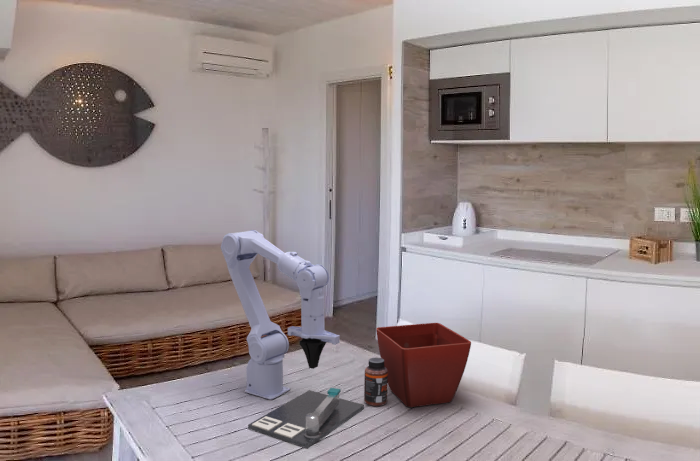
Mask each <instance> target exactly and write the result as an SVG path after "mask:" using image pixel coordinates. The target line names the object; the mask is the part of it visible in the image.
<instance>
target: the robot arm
mask: <svg viewBox="0 0 700 461" xmlns="http://www.w3.org/2000/svg"><path fill="white" fill-rule="evenodd" d="M220 250H221V253H222V256H223V258H224V261H225V263H226V266H227V271H228V274H229V275H230V278H231V281H232V283H233V286H234V288H235V291H236V293H237V296H238V299H239V301H240V304H241V307H242V309H243V311H244V314H245V317H246V319H247V321H248V324H249V326H250V328H251V329H250V331H249V333H248V335H247V336H246V342H247V345H248V353H249V355H250V359H249V360H248V362H247V364H246V370H245V371H246V372H245V373H246V375H245V376H246V379H245V380H246V389H245V390H244V392H245V393H247V394H250V395H253V396H257V397H260V398H265V399H267V400H271V401H272V400H274V399H275V398H278V397H280V396H281V395H283V394H285V393H287V392H288V391H290V390H291V389H290V387H287V386H285V385H284V370H283V368H284V367H283V366H284V365H283V364H284V359H285V354H286V353H287V352H288V350H289V349H290V348H289V347H290V343H289V339H288V337H287V336H290V337H292V336H294V337H300V338H301V340H299V345H300V348H302V351H303V352H304V356H305V357H306V360H307V365H308V368H309V369H316V368H318V366H319V362H320V358H321V355H322V352H323V350H324V347H325V345H326V344H327V343H330V344H331V345H334V346H335V345H338V344H339V343H340V340H341V339H340V338H341V337H340V336H341V335H340V334H336V333H334V332H331V331H328V330H325V329H326V328H325V323H326V322H325V321H326V320H325V287H326V286H327V285H328V283H329V281H330V274H329V271H328V269H327V268H326V267H325V266H324V265H323V264H321V263H317V264H313V263H312V262H311V261H310V260H306V259H304V258H303V257H301V256H299V255H298V252H296V251H286V252H284V251H283V250H282V249H280V248H278V247H277V246H276V245H274V244H273V243H272V242H270V241H269V240H268V239H266V238H265V236H264V234H263V233H261V232H259V231H258V230H255V229H250V230H246V231H237V232H228V233H226V234H225V235H224V236H223V238H222V241H221V244H220ZM258 255H259V256H261V257H263V258H264V259H266V260H269V261H270V262H272V263H274V264H276V265H277V269H278V270H279V272H281V273H282V274H283V275H286V276H287V277H288V278H290V279H291V280H293V281H294V282H296V283H295V284H296V286H297V287H298V289H299V290H298V291H299V296H300V301H301V303H300V304H301V305H300V307H301V309H300V310H301V312H300V313H301V315H300V316H301V326H295V325H294V326H293V325H292V326H289V327H287V335H286V334H285V333H284V332H283V331H282V329H281V326H280V325H279V324H277V323H275V322H273V321H271V319H270V316H269V314H268V311H267V308H266V306H265V303H264V301H263V298H262V297H261V295H260V291H259V289H258V287H257V284H256V282H255V279H254V276H253V274H252V272H251V268H250V267H251V264H252V263H253V262H254V260H255V259H256V258H257V256H258Z"/></svg>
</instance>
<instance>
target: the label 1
mask: <svg viewBox="0 0 700 461" xmlns="http://www.w3.org/2000/svg"><path fill="white" fill-rule="evenodd" d="M281 423H283V421H280V420H277V419H274V418H270V417H267V416H265V417H264V418H262V419H260V420H258V421H257V422H255V423H253V424H252V426H255V427H258V428H261V429H264V430H267V431H269V430H271V429H273V428H274V427H276V426H278V425H279V424H281Z"/></svg>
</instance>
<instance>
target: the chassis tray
mask: <svg viewBox="0 0 700 461" xmlns="http://www.w3.org/2000/svg"><path fill="white" fill-rule="evenodd" d="M328 395H329V394H326V393H322V392H318V391H315V390H311V389H309V390H307V391H305V392H303V393H301V394H300V395H298V396H296V397H294V398H293V399H290V401H287V402H286V403H283V404H281V405H280V406H278V407H276V408H275V409H274V410H273V409H272V410H271V411H270V412H268V413H267V414H264V415H263V416H260V417H259V418H258V419H256V420H254V421H252V422H250V423H249V424H248V425H247V428H248V429H249V430H251V431H253V432H257V433H260V434H263V435H266V436H269V437H272V438H274V439H277V440H280V441H284V442H286V443H289V444H293V445H295V446H299V447H302V448H304V449H310V447H312V446H313V445H315V444H316V443H317V442H319V441H320V440H322V439H323V438H324V437H326V436H327V435H328V434H330V433H331V432H333V431H334V430H337V428H338V427H341V425H343V424H344V423H346V422H347V421H349V420H350V419H351V418H353V417H354V416H356V415H357V414H358V413H360V412H361V411H362V410H364V409H365V404H363V403H359V402H355V401H352V400H348V399H343V398H341V397H339V405H338V406H337V407H336V408H335V410H334V411H333V412H332V413H331V415H330V416H329V417H328V418H327V420H326V421H325V422H324V423H323V425H322V426H321V427H320V428H319V431H320V432H321V436H320V437H319V438H317V439H308V438H305V437H304V432H305V431H306V415H307V414H309V413H313V412H314V411H315V410H316V409H317V408H318V406H319V405H320V404H321V403H322V402H323V401H324V399H325V398H326V397H327V396H328ZM265 416H267V417H270V418H274V419H277V420H280V421H283V423H281V424H279V425H278V426H276V427H274V428H273V429H271V430H269V431H267V430H264V429H261V428H258V427H255V426H252V424H253V423H255V422H257V421H258V420H260V419H262V418H264V417H265ZM287 423H290V424H293V425H296V426H299V427H302V428H305V430H304V431H302V432H300V433H299V434H297V435H296V436H294V437H293V438H289V437H286V436H283V435H280V434H277V433H274V431H275V430H277V429H279V428H280V427H282V426H283V425H285V424H287Z"/></svg>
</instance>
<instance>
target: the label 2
mask: <svg viewBox="0 0 700 461" xmlns="http://www.w3.org/2000/svg"><path fill="white" fill-rule="evenodd" d="M304 430H305V428H302V427H299V426H296V425H293V424H290V423H287V424H285V425H283V426H282V427H280V428H279V429H277V430H275V431H274V433H277V434H280V435H283V436H286V437H289V438H293V437H294V436H296V435H297V434H299V433H300V432H302V431H304Z"/></svg>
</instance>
